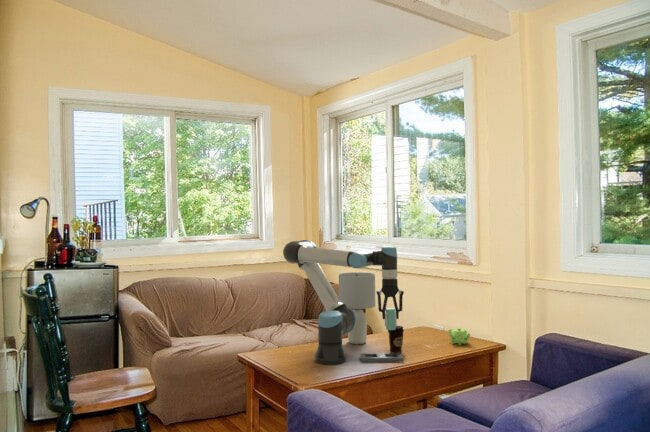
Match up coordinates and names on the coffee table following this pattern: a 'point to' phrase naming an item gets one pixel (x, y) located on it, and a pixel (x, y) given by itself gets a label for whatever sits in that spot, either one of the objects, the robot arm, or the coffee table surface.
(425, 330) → the coffee table surface
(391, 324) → the teal brick
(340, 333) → the robot arm
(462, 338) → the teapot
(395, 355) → the grey flat frame
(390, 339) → the coffee cup
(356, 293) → the lamp
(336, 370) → the coffee table surface
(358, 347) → the coffee table surface
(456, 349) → the coffee table surface
